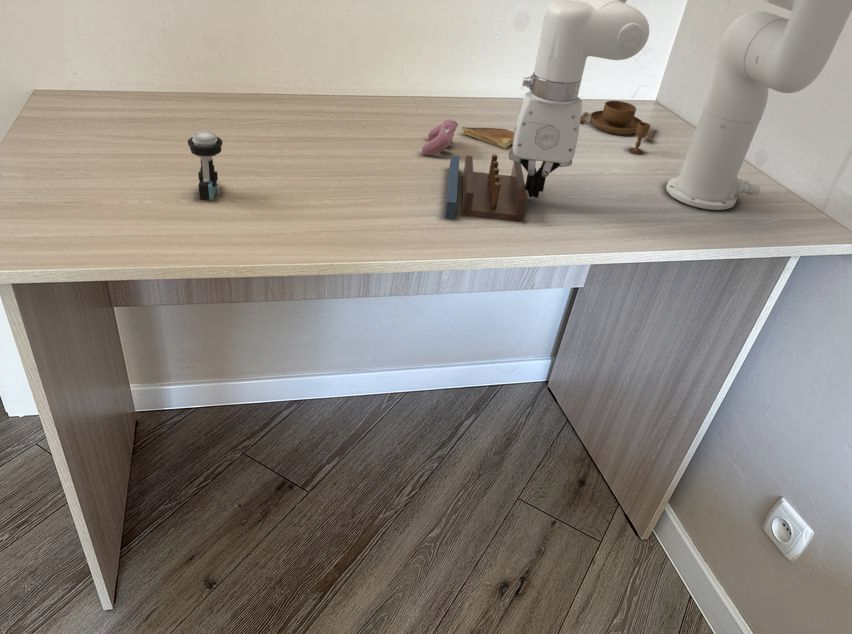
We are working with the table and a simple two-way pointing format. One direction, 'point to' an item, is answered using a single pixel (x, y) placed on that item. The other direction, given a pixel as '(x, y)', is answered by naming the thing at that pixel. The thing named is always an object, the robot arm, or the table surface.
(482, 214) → the rack
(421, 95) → the table surface
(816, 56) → the robot arm
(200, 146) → the push button
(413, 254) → the table surface
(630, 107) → the place setting
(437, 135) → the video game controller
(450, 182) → the bar
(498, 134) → the golden brown flat wedge
